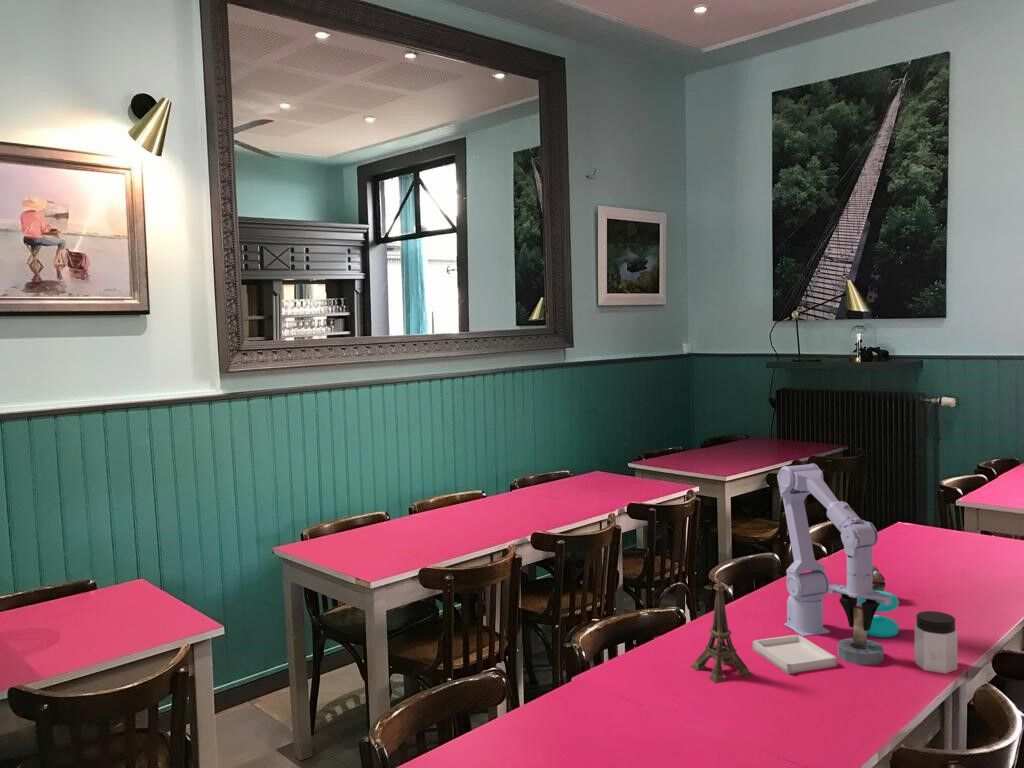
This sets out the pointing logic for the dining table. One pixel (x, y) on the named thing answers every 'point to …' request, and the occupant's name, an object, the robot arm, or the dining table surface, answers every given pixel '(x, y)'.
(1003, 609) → the dining table surface
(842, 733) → the dining table surface
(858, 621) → the pin
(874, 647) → the grey faceted ashtray
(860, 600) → the donuts
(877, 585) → the cupcake
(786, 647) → the tray
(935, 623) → the jar
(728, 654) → the eiffel tower
